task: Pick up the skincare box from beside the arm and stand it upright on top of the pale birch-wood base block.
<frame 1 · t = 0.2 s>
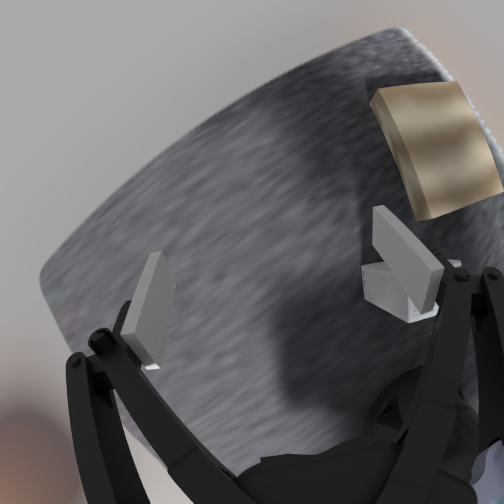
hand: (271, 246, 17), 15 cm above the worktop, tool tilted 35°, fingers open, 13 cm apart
skincare box: (385, 276, 31), on the worktop
base block: (435, 149, 29), on the worktop
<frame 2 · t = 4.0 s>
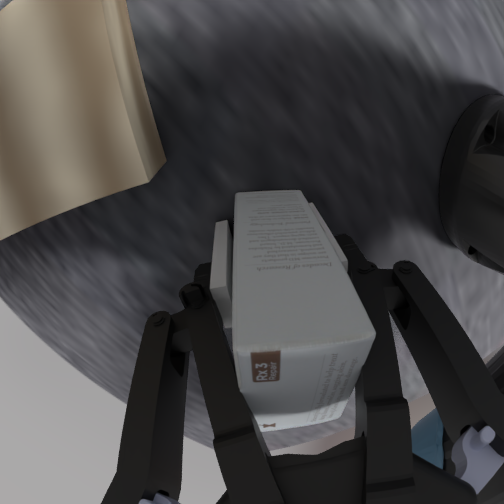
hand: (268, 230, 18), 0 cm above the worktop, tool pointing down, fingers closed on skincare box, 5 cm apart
skincare box: (265, 227, 19), on the worktop, touching gripper
base block: (35, 107, 12), on the worktop
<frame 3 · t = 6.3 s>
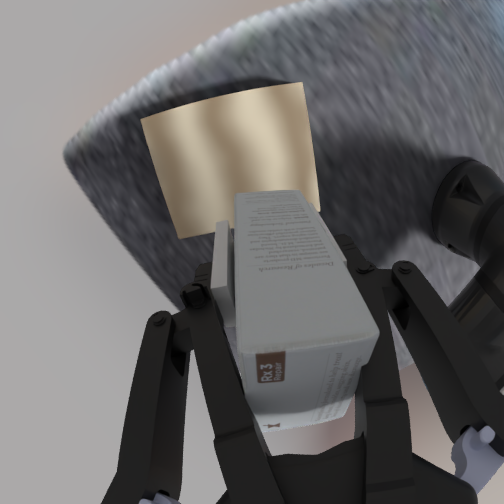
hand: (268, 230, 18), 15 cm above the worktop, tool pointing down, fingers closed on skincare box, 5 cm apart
skincare box: (265, 227, 19), point 15 cm above the worktop, touching gripper
base block: (234, 155, 31), on the worktop
when the fingers open (6 cm above the worktop, at t = 8.9 s): skincare box drops 1 cm, resting on base block.
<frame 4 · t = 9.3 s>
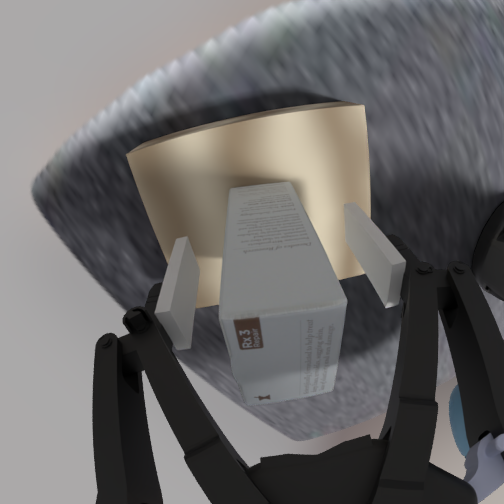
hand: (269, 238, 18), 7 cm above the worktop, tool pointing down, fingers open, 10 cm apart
skincare box: (260, 219, 20), point 4 cm above the worktop, touching base block
base block: (260, 197, 23), on the worktop
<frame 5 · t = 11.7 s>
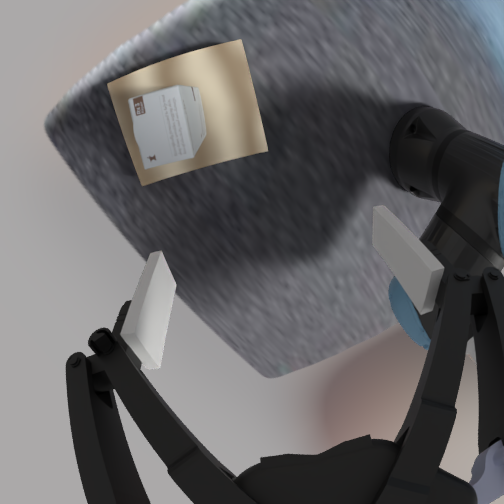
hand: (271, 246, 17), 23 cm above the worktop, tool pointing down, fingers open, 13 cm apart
skincare box: (183, 113, 29), point 4 cm above the worktop, touching base block
base block: (190, 110, 32), on the worktop
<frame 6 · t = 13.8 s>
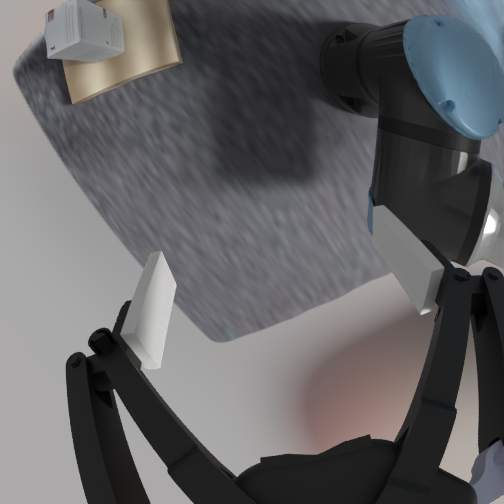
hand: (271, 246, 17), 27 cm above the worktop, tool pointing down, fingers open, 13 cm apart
skincare box: (108, 39, 25), point 4 cm above the worktop, touching base block
base block: (120, 41, 28), on the worktop
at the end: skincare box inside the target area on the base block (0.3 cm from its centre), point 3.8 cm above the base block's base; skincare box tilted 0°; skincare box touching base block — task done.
